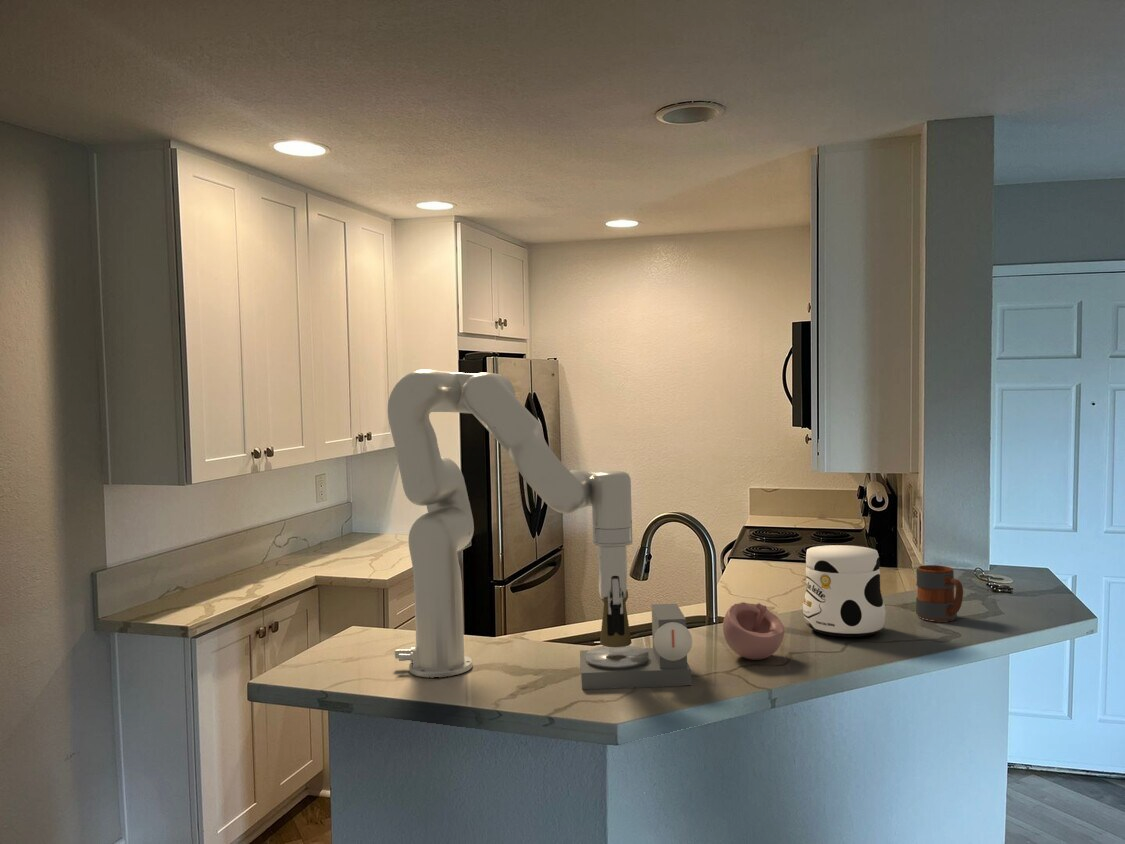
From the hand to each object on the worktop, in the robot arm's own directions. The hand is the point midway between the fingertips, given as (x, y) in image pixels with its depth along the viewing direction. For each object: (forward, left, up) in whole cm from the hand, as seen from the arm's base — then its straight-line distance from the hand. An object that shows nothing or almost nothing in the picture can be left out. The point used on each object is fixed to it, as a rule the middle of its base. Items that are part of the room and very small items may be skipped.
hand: (615, 630), depth 155 cm
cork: (0, 0, -2) cm, 2 cm away
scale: (+3, 0, -9) cm, 9 cm away
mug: (+77, +32, -9) cm, 84 cm away
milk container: (+52, +25, -9) cm, 58 cm away
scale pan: (0, 0, -5) cm, 6 cm away
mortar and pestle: (+28, +8, -9) cm, 31 cm away
